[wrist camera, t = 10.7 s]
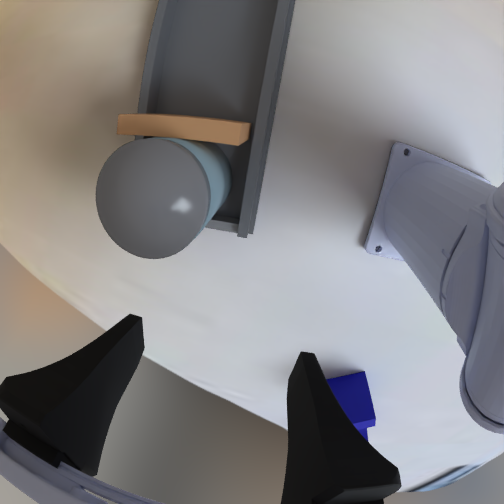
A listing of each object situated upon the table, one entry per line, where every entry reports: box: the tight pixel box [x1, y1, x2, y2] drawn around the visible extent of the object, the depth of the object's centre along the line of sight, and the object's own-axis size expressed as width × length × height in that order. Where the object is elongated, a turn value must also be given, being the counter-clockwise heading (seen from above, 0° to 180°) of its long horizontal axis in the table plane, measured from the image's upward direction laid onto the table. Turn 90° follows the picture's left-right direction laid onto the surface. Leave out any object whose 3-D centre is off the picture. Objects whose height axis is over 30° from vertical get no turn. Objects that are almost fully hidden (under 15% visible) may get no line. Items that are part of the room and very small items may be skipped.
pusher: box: [117, 114, 252, 146], centre depth 14 cm, size 6×1×5 cm, turn 81°
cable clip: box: [326, 371, 376, 441], centre depth 25 cm, size 12×4×6 cm, turn 16°
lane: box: [135, 0, 295, 238], centre depth 14 cm, size 8×21×3 cm, turn 171°
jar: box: [96, 137, 233, 259], centre depth 14 cm, size 5×5×7 cm
